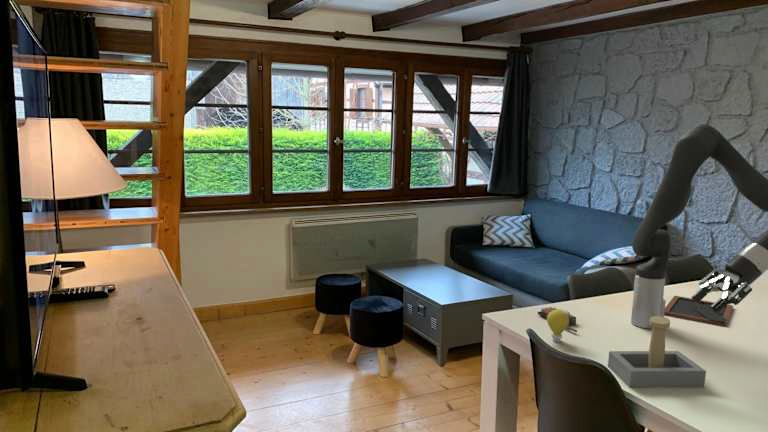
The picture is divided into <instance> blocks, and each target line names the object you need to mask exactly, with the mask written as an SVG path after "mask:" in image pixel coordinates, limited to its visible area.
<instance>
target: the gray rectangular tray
mask: <svg viewBox="0 0 768 432" xmlns="http://www.w3.org/2000/svg"><path fill="white" fill-rule="evenodd" d="M607 367H608V368H609V369H610V370H611V371H612V372H613V373H614V374H615V375H616V376H617V377H618V378H619V379H620V380H622V382H623V383H624V384H626V386H627V387H628V388H705V385H706V383H705V382H706V375H707V370H705V368H703V367H702V366H700V365H699V364H697V363H696V362H695V361H693V360H692V359H690V358H689V357H688V356H686V355H685V354H683V353H682V352H680V351H679V350H665V357H664V364H663V368H649V350H641V351H640V350H619V351H618V350H616V351H613V350H609V352H608V359H607Z"/></svg>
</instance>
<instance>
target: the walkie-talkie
mask: <svg viewBox="0 0 768 432" xmlns="http://www.w3.org/2000/svg"><path fill="white" fill-rule="evenodd" d="M556 309H557V307H556V306H555V307H551V306H550V307H544V308H543V307H542V308H541V309H540V310H541V311H537V315H539V316H540V317H541V318H543V319H545V320H547V316H548V314H549V313H550V312H551V311H553V310H556ZM558 309H559V310H562V311H564V312H565V313H566V314H567V316H568V318H569V323H568V325H567V327H566V328H565V330H568V331H572V332H574V333H578V330H577V329H575V328H573V327H570V326H574V325H576V323H577V316H574V315H571V313H570V312H569V311H567V310H565V309H563V308H558Z"/></svg>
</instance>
